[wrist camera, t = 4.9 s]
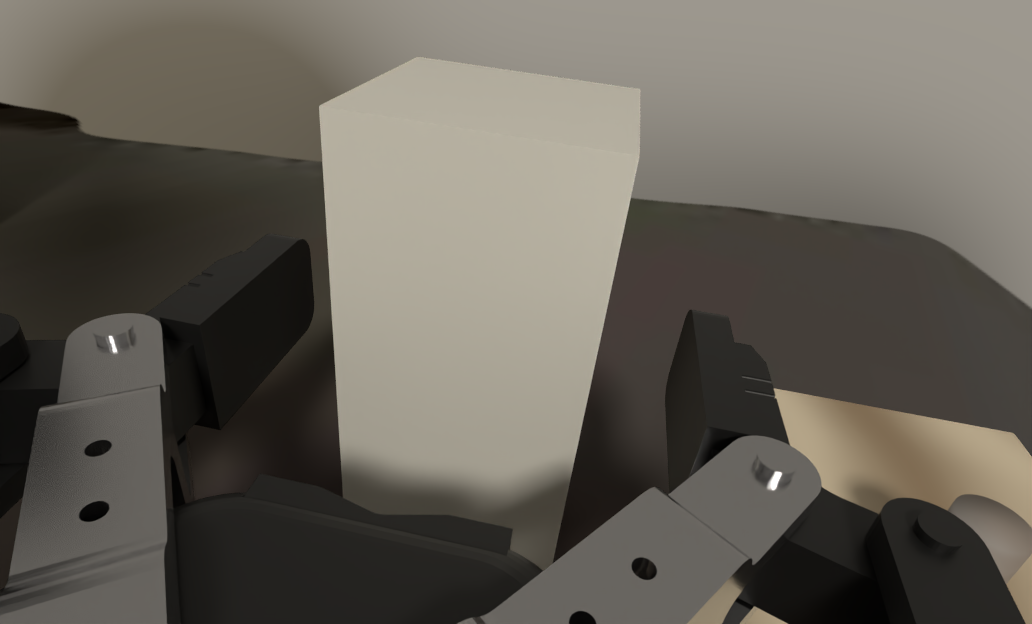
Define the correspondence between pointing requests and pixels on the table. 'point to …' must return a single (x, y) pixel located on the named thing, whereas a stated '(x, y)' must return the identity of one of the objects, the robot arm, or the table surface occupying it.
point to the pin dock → (921, 473)
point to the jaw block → (472, 284)
